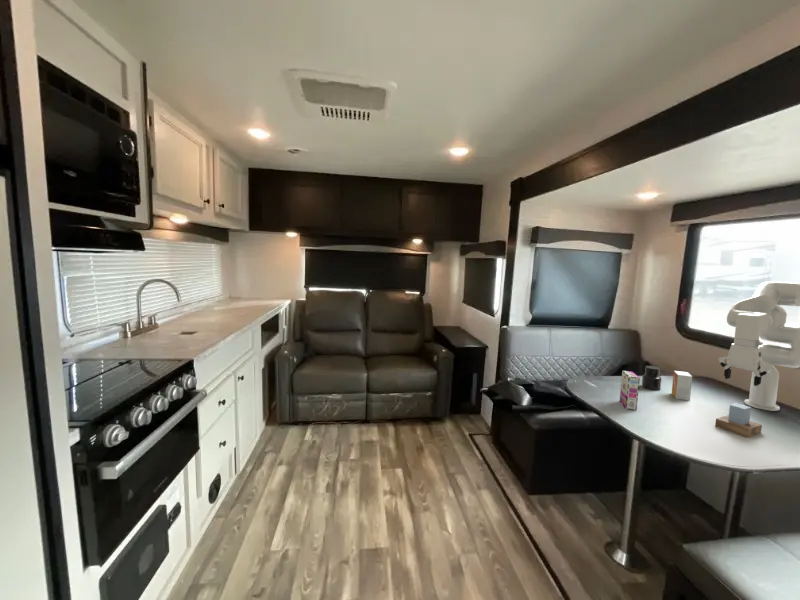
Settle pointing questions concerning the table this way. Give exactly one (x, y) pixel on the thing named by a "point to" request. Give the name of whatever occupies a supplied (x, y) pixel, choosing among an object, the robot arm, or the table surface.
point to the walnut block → (738, 427)
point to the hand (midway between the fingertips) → (741, 381)
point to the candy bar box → (629, 390)
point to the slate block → (739, 413)
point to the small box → (681, 385)
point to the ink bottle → (651, 378)
